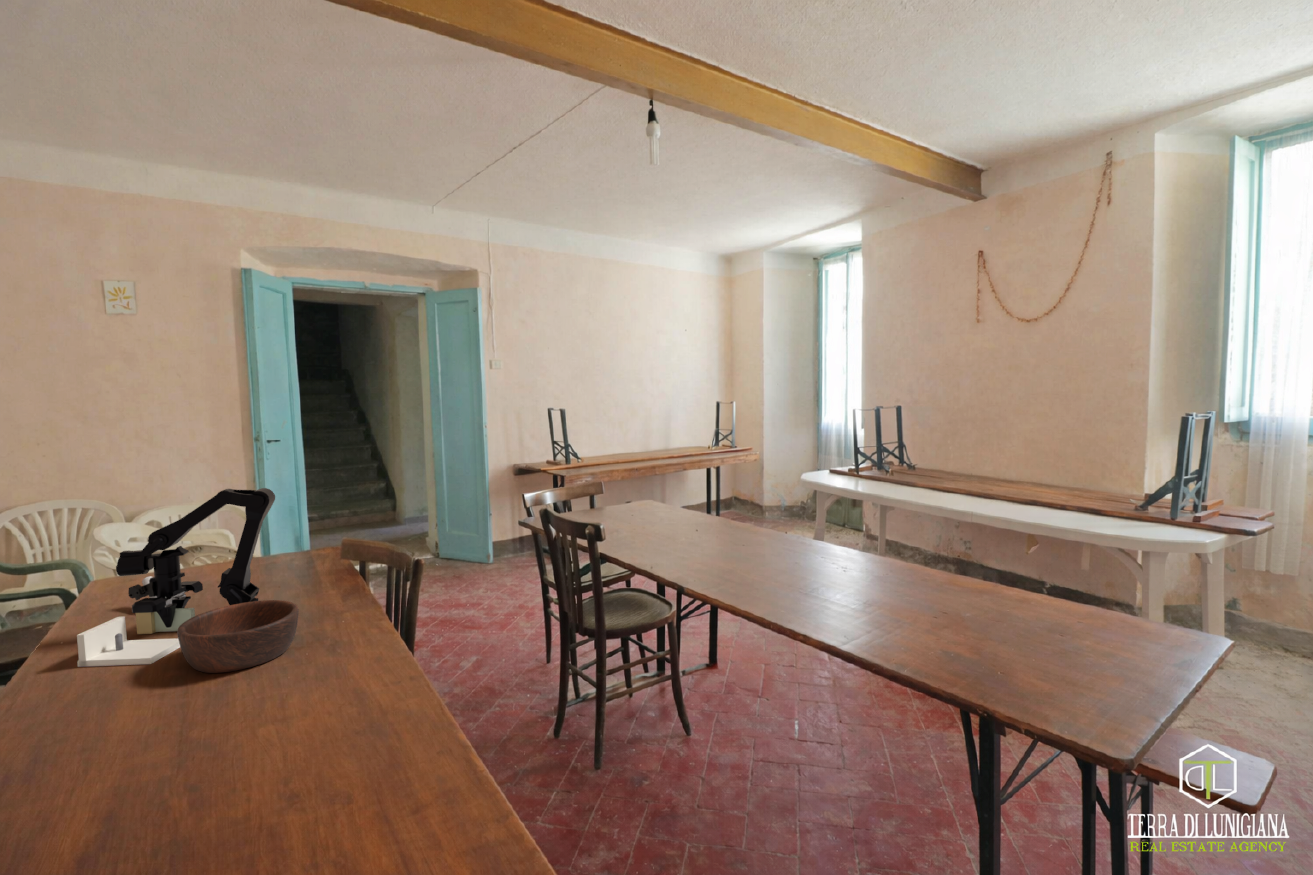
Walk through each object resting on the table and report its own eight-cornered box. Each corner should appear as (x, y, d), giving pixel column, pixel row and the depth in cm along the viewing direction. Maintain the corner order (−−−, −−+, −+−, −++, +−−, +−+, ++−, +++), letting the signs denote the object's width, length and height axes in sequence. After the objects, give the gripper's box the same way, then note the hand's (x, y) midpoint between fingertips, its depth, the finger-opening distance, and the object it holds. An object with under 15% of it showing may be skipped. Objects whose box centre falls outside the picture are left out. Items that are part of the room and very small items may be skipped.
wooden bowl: (240, 683, 134) (237, 640, 134) (152, 674, 139) (149, 632, 139) (322, 639, 159) (320, 602, 158) (245, 632, 164) (243, 596, 163)
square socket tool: (198, 626, 168) (197, 606, 168) (188, 632, 164) (187, 611, 164) (148, 628, 167) (147, 607, 167) (137, 634, 163) (135, 613, 163)
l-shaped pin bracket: (186, 643, 157) (184, 614, 156) (150, 663, 145) (148, 632, 144) (119, 645, 156) (117, 616, 155) (77, 666, 144) (75, 635, 143)
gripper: (162, 563, 173) (166, 614, 175) (108, 583, 155) (112, 640, 156) (202, 562, 174) (205, 613, 175) (152, 581, 156) (157, 639, 157)
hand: (171, 625), depth 166 cm, fingers closed on square socket tool, 2 cm apart
